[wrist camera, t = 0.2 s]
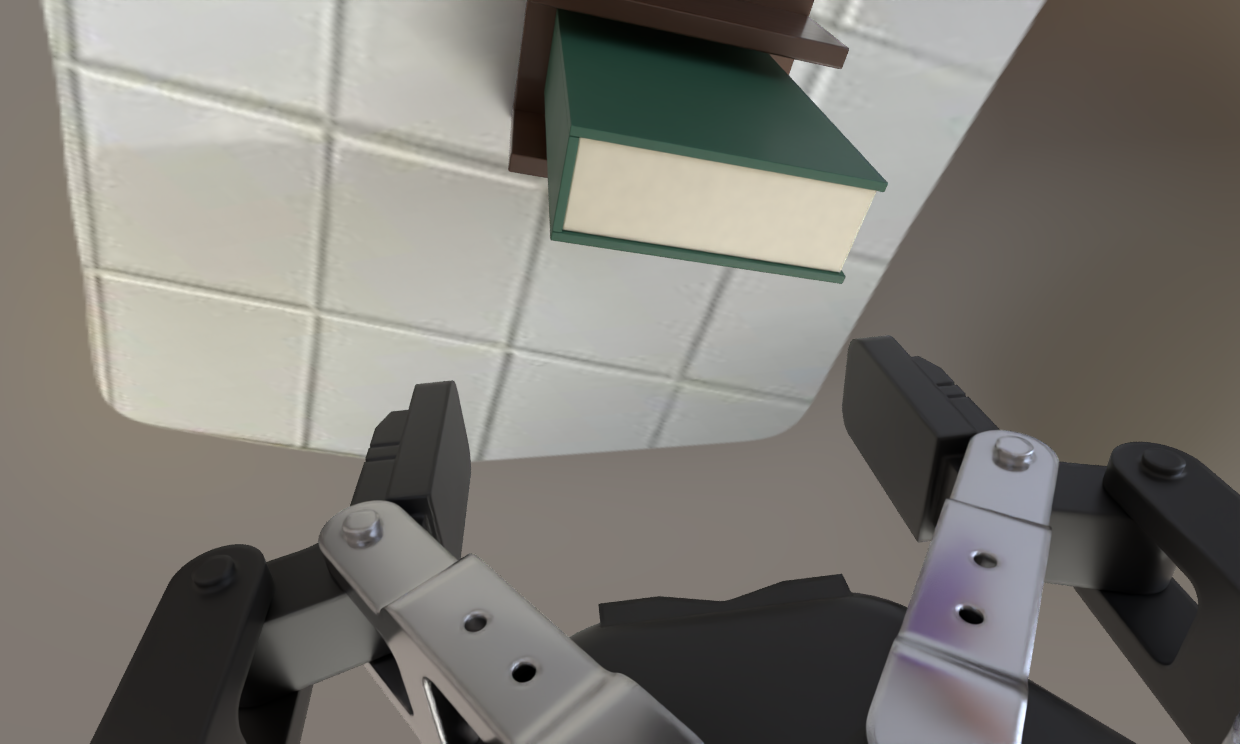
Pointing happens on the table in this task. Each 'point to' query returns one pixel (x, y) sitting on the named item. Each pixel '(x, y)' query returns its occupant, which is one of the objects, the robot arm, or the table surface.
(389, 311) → the table surface
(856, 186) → the book
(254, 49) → the table surface
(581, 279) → the table surface
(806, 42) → the rack
